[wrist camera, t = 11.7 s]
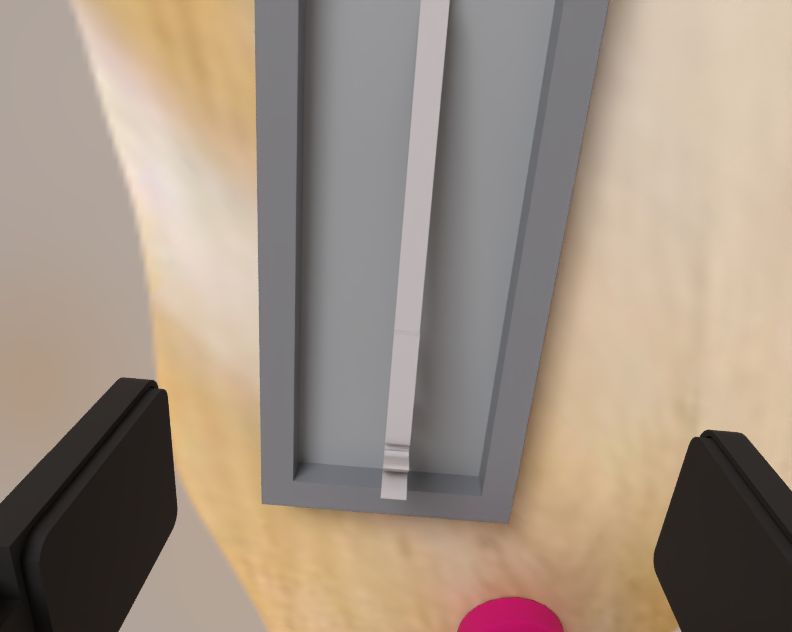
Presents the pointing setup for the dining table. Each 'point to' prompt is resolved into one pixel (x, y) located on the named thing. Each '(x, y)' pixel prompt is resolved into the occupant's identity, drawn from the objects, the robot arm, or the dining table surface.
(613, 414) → the dining table surface
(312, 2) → the tool case
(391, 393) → the caliper
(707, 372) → the dining table surface
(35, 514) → the robot arm
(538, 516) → the dining table surface
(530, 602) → the pepper mill
